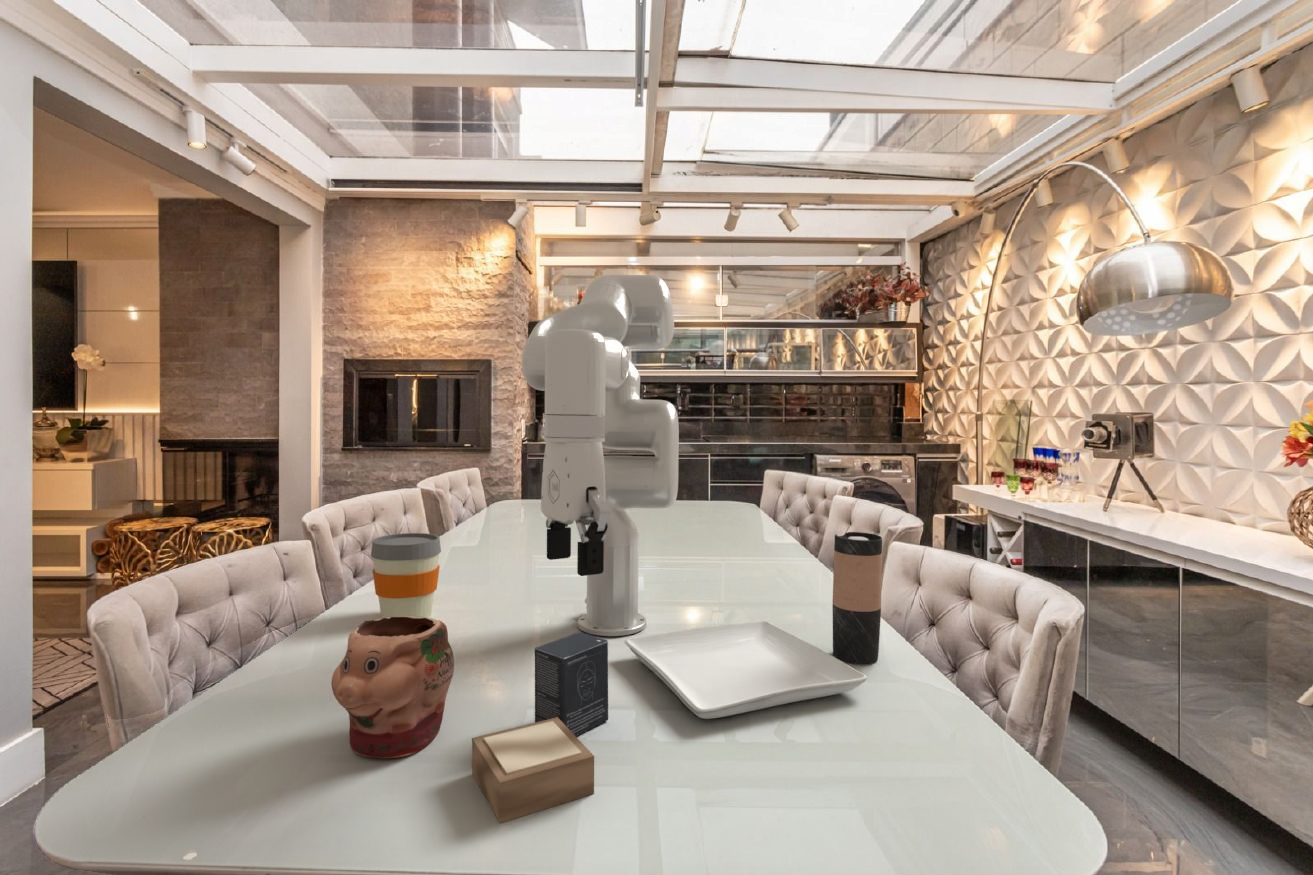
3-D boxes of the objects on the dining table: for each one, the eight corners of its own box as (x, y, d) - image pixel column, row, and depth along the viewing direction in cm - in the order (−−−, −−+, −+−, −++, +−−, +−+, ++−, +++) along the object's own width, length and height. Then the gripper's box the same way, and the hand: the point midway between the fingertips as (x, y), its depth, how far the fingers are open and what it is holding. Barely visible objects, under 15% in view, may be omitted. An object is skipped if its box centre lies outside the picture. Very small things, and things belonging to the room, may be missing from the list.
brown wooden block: (471, 773, 72) (471, 736, 72) (557, 750, 77) (557, 715, 77) (500, 823, 64) (500, 780, 64) (594, 793, 69) (594, 754, 69)
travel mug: (882, 667, 104) (886, 541, 103) (832, 663, 105) (835, 539, 105) (876, 650, 111) (879, 533, 111) (829, 646, 113) (832, 530, 112)
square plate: (621, 660, 107) (621, 636, 107) (765, 639, 118) (766, 617, 117) (697, 737, 82) (697, 706, 82) (870, 701, 93) (871, 673, 93)
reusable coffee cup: (440, 604, 135) (440, 531, 134) (441, 623, 123) (441, 543, 122) (374, 609, 131) (373, 534, 130) (367, 629, 119) (367, 547, 118)
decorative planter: (397, 696, 92) (397, 597, 91) (481, 702, 90) (481, 601, 89) (302, 774, 72) (301, 648, 71) (408, 784, 70) (408, 655, 70)
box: (578, 708, 89) (579, 630, 88) (609, 721, 85) (610, 640, 84) (532, 729, 83) (533, 646, 82) (563, 744, 79) (563, 657, 78)
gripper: (522, 428, 88) (521, 555, 88) (575, 432, 73) (574, 585, 74) (574, 428, 92) (573, 550, 92) (634, 432, 77) (633, 577, 77)
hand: (573, 565), depth 83 cm, fingers open, 9 cm apart
